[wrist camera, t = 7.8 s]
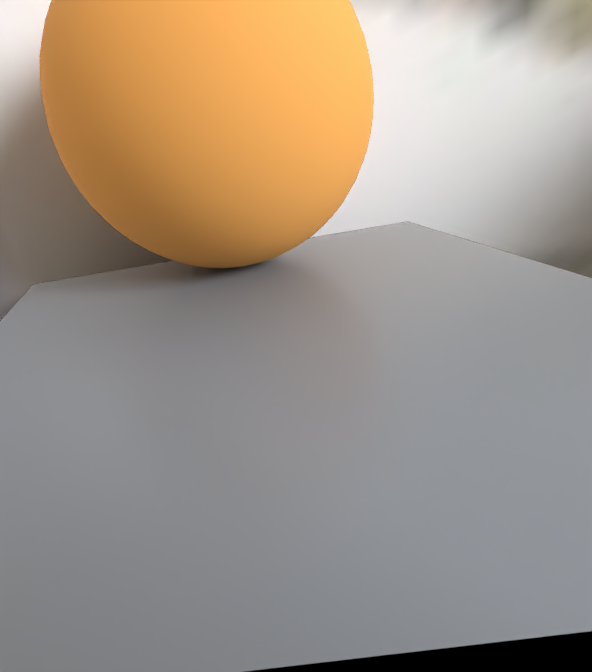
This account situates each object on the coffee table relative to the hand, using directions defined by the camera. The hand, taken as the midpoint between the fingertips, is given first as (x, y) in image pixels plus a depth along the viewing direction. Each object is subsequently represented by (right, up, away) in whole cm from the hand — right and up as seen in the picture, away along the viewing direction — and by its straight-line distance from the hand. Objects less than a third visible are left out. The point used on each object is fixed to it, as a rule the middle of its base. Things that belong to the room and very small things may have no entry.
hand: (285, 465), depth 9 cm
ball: (-1, +6, -1) cm, 6 cm away
